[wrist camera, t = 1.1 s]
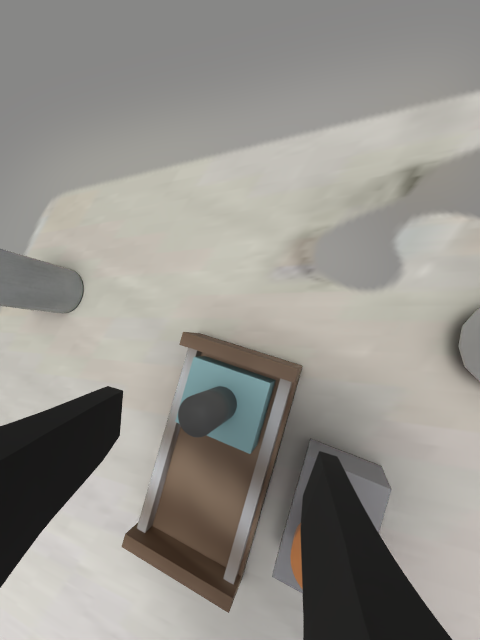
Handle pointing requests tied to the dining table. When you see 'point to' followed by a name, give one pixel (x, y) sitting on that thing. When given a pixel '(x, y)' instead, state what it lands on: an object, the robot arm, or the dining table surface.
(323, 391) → the dining table surface
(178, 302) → the dining table surface
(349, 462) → the grey rectangular block
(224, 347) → the rail board
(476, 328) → the salt shaker
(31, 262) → the planter
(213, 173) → the dining table surface
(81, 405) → the robot arm
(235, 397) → the blue block with peg
